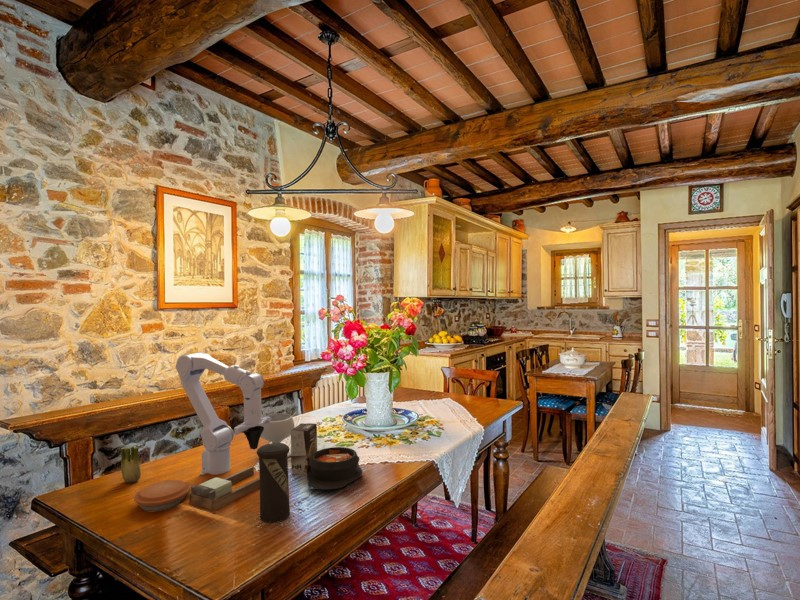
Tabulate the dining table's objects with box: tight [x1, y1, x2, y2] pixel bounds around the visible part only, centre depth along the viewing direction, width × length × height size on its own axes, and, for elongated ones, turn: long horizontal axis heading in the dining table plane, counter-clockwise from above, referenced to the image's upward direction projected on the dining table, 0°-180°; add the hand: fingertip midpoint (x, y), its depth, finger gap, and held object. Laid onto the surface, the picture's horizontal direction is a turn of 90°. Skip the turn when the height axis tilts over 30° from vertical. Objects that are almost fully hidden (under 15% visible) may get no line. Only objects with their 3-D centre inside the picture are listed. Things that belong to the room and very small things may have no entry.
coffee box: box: [290, 422, 318, 476], centre depth 157 cm, size 9×6×16 cm
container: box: [256, 442, 291, 524], centre depth 126 cm, size 9×9×20 cm
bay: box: [188, 466, 260, 515], centre depth 140 cm, size 11×25×6 cm, turn 151°
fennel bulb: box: [120, 445, 142, 484], centre depth 152 cm, size 6×5×12 cm
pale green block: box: [198, 476, 233, 498], centre depth 134 cm, size 7×6×5 cm
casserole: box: [306, 446, 363, 491], centre depth 150 cm, size 25×19×8 cm
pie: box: [133, 479, 192, 512], centre depth 136 cm, size 15×16×5 cm
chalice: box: [260, 412, 296, 458], centre depth 174 cm, size 14×14×15 cm
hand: (253, 448), depth 153 cm, fingers closed
